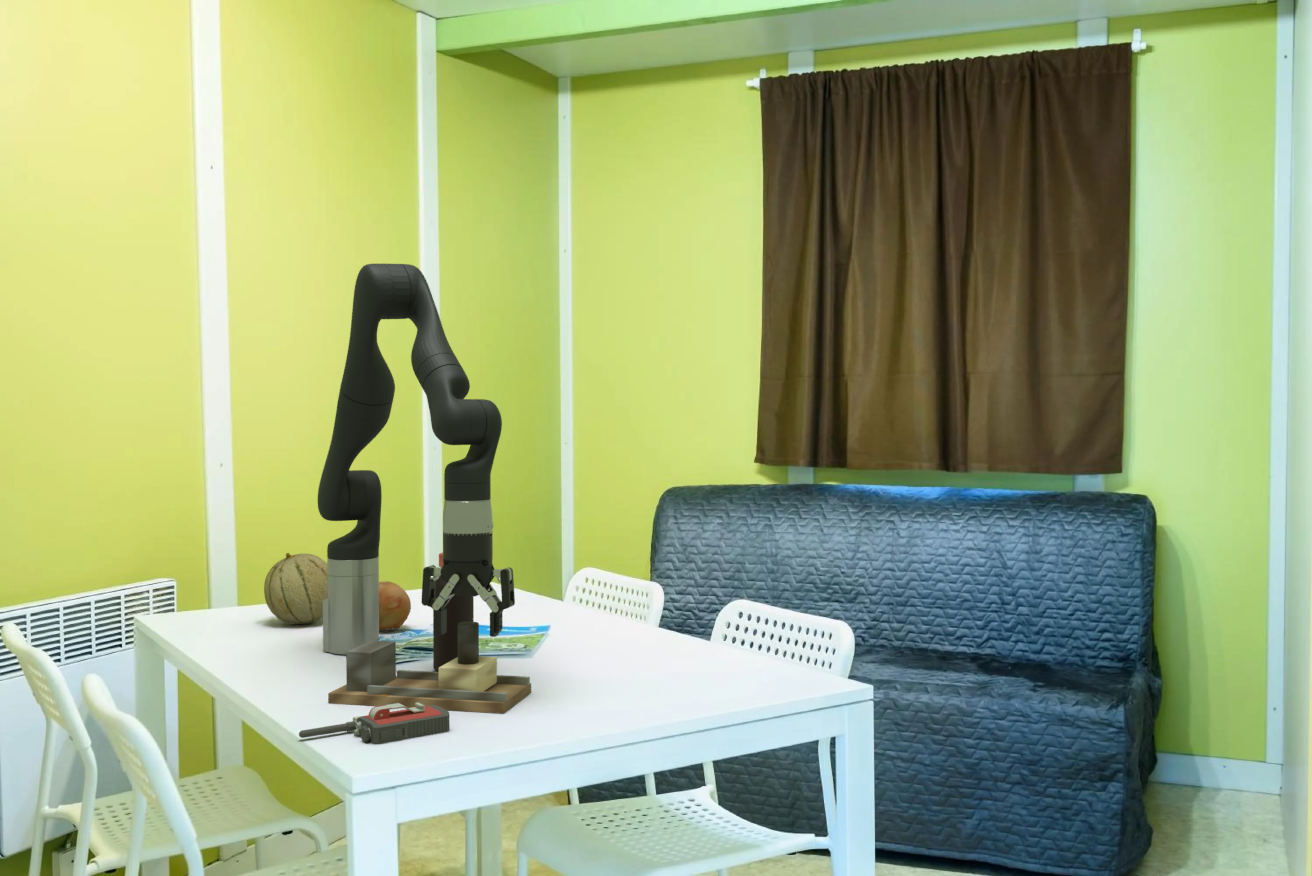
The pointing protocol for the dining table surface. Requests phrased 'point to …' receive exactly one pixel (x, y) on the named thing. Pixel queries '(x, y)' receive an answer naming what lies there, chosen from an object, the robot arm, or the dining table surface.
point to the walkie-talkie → (391, 724)
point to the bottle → (450, 624)
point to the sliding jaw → (468, 663)
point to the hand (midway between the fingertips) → (468, 634)
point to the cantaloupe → (297, 588)
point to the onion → (392, 606)
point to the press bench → (417, 685)
